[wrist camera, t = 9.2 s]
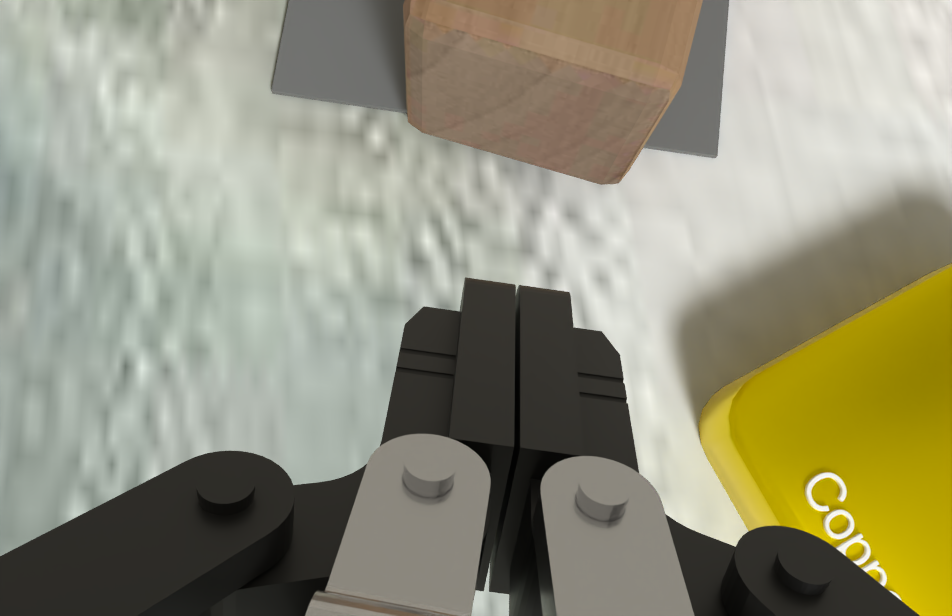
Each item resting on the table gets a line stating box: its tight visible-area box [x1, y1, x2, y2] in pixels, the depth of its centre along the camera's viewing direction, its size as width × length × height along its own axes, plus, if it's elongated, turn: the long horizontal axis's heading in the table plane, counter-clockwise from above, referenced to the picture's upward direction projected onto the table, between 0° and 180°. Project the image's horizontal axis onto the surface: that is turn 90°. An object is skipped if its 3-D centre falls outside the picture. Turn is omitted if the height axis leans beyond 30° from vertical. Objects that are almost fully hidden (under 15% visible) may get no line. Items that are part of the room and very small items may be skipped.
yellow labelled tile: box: [699, 263, 952, 616], centre depth 36 cm, size 15×15×5 cm
